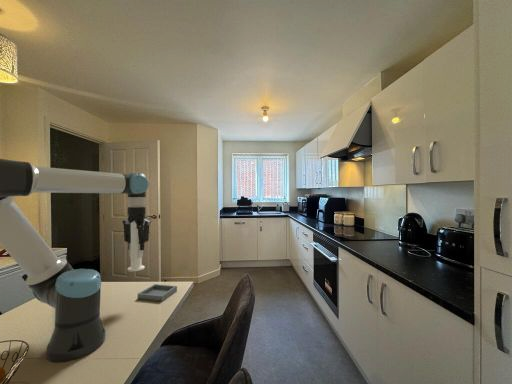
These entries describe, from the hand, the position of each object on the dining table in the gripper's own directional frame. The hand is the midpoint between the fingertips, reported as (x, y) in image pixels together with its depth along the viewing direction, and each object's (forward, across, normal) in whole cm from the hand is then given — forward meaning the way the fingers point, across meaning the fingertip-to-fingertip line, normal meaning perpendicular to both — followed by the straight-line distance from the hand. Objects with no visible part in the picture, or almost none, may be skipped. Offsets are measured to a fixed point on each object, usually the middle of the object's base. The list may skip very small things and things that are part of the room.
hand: (136, 256), depth 107 cm
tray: (+21, -5, -10) cm, 24 cm away
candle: (+6, 0, 0) cm, 6 cm away
